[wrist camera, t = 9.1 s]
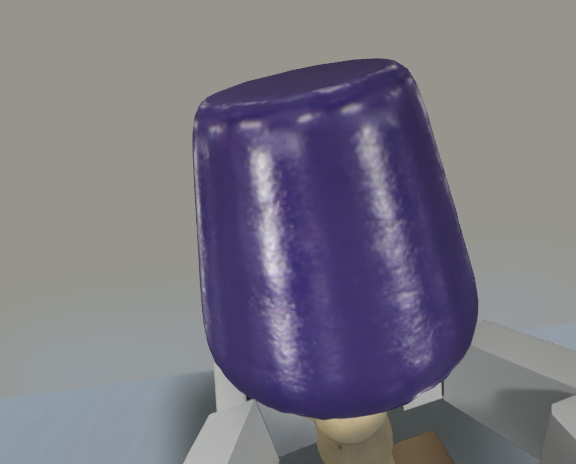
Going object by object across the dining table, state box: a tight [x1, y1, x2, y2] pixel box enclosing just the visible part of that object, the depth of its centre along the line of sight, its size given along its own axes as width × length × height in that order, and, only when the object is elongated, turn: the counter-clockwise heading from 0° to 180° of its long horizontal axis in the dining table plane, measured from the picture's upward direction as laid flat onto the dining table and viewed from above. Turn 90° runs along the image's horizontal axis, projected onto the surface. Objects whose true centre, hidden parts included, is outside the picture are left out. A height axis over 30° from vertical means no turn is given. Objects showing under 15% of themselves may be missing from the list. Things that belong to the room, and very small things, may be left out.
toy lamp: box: [193, 58, 478, 464], centre depth 9 cm, size 5×5×17 cm
